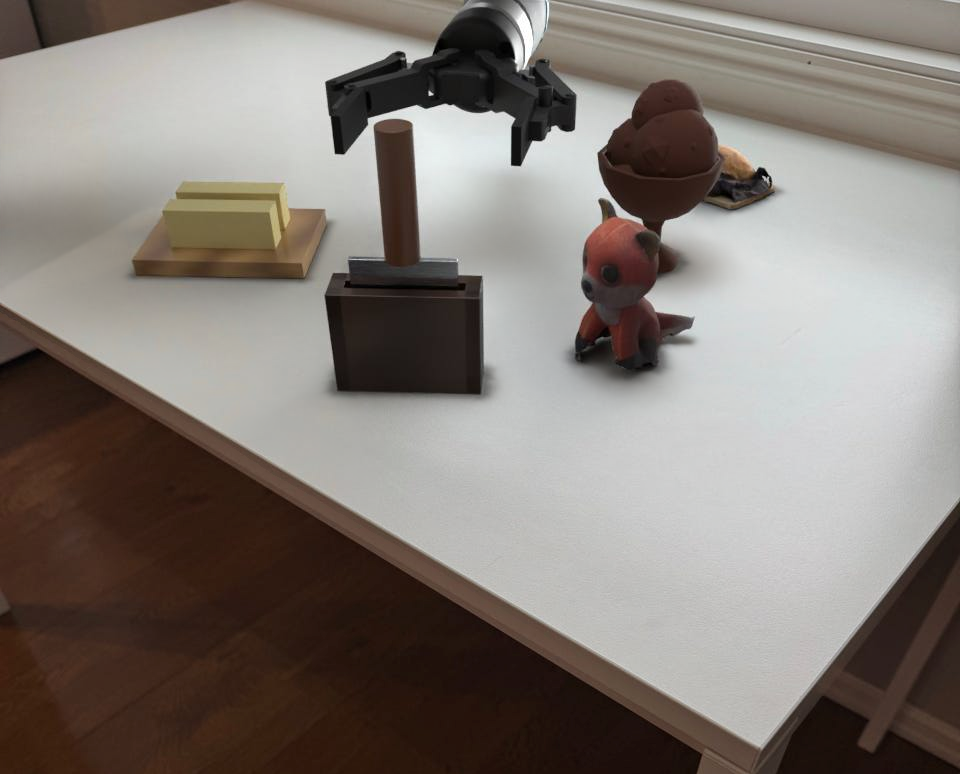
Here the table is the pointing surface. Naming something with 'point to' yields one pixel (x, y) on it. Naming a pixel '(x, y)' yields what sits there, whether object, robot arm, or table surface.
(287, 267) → the board
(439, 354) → the knife block
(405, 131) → the cleaver knife
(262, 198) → the butter
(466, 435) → the table surface
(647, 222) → the ice cream bowl
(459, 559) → the table surface
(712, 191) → the tan mound on tray
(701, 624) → the table surface
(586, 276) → the stuffed fox
